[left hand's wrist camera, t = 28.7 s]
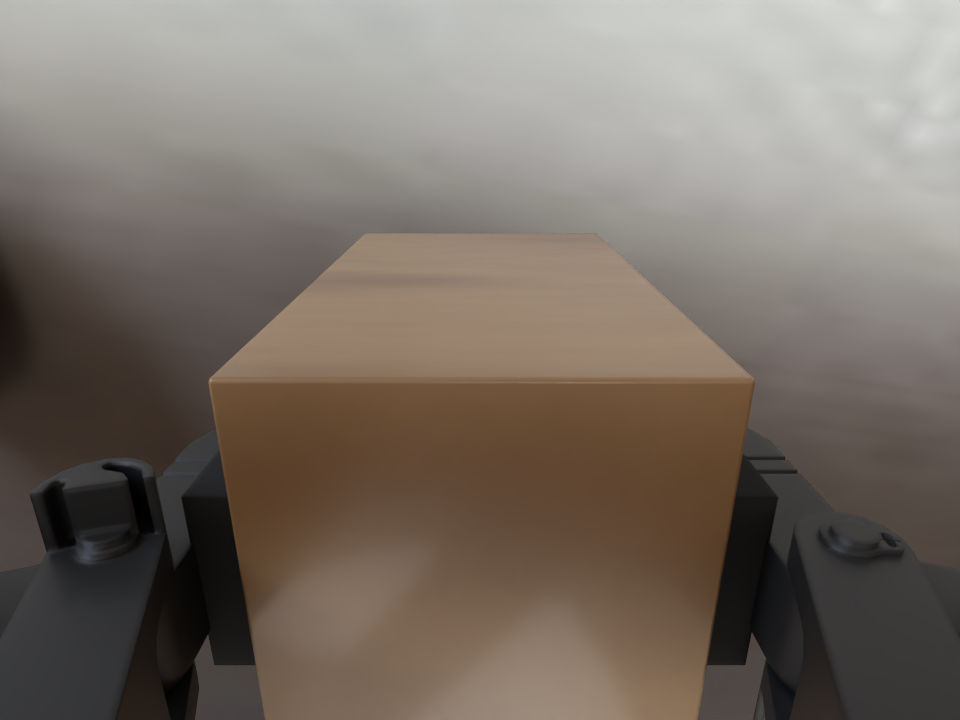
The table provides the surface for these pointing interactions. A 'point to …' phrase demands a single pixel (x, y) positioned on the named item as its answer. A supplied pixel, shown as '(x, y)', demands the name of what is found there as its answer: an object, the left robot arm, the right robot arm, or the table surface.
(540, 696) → the block
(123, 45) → the table surface
